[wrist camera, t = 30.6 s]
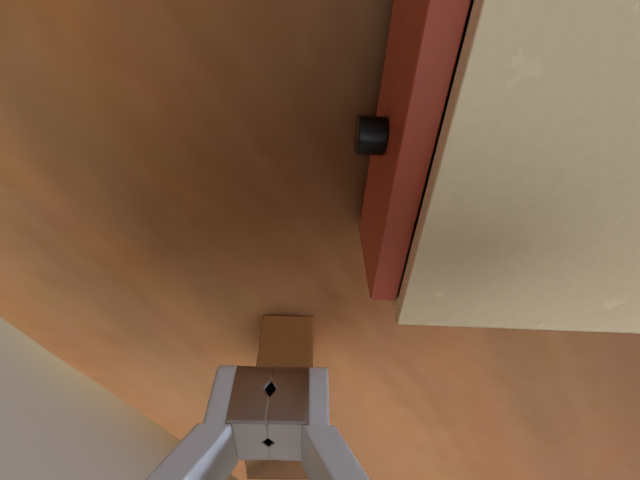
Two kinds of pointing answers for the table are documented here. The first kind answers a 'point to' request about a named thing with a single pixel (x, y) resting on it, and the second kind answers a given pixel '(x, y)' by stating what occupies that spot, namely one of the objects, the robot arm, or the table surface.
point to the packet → (283, 351)
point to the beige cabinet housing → (535, 175)
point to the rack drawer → (406, 131)
